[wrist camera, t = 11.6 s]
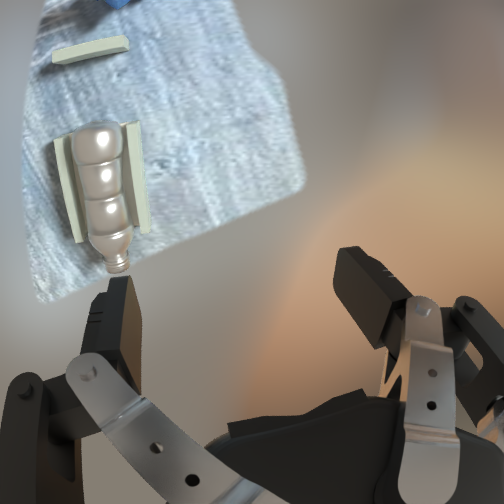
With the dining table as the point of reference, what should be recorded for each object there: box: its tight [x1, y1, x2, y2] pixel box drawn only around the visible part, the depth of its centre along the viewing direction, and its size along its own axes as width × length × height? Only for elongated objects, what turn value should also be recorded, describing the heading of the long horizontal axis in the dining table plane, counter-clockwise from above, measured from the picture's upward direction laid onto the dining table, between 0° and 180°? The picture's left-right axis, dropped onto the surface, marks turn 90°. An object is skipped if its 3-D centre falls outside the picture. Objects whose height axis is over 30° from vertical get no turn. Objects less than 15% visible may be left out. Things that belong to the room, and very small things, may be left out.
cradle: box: [54, 120, 151, 243], centre depth 36 cm, size 14×11×4 cm
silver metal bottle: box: [71, 120, 134, 274], centre depth 35 cm, size 6×7×20 cm
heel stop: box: [52, 35, 129, 65], centre depth 27 cm, size 2×9×4 cm, turn 90°
